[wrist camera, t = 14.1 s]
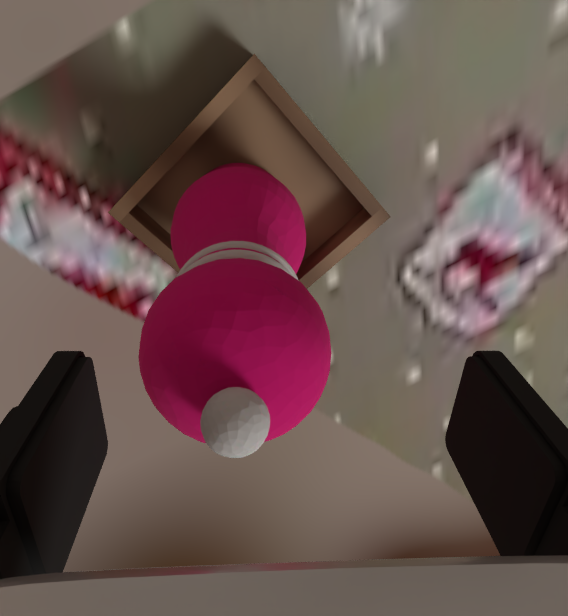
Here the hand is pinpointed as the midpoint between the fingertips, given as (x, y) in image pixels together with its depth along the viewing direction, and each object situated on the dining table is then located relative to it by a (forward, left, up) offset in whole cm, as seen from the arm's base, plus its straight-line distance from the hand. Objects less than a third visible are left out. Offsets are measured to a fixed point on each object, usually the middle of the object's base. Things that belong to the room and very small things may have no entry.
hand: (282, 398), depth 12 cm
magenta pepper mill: (+1, +1, -19) cm, 19 cm away
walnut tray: (0, 0, -20) cm, 20 cm away
